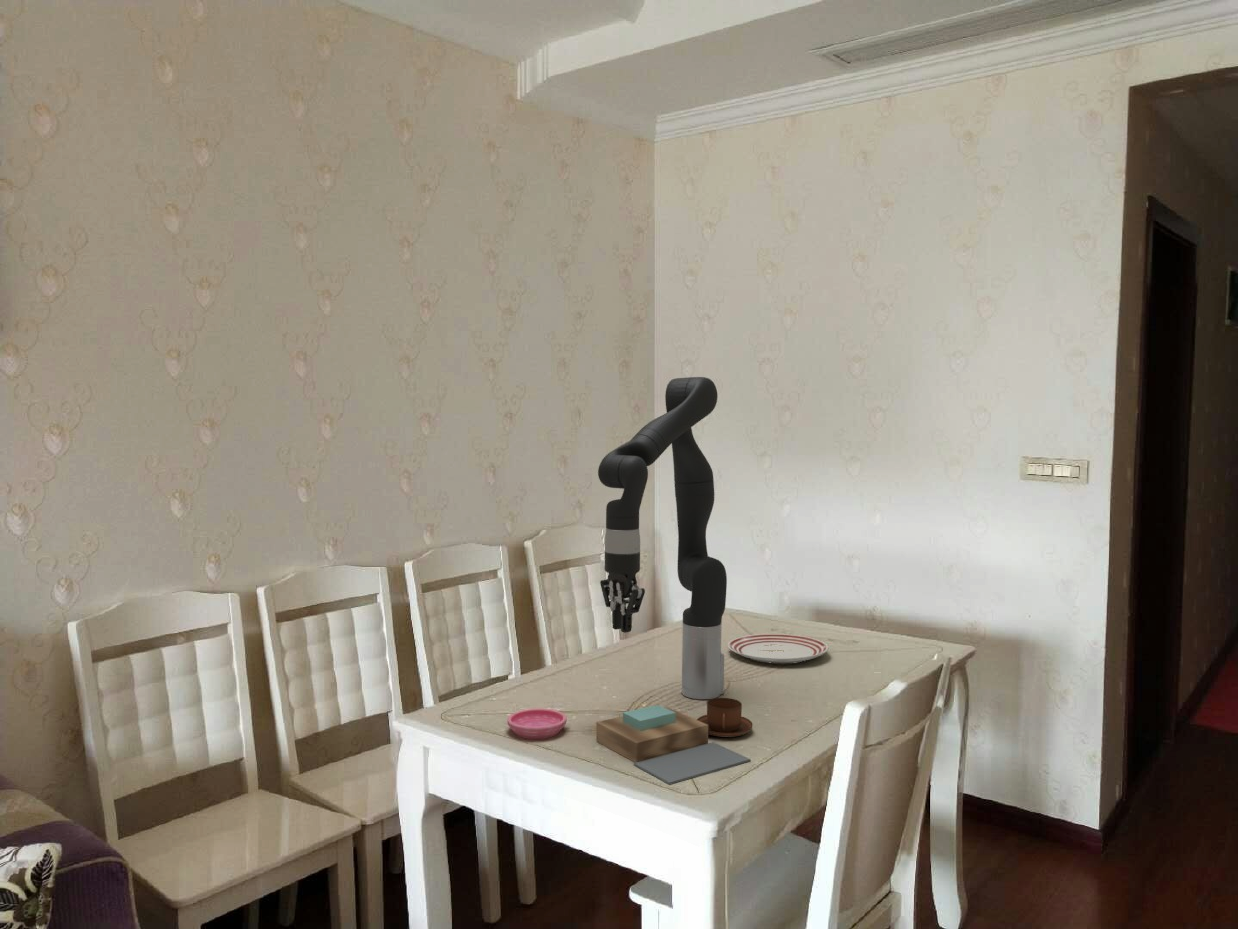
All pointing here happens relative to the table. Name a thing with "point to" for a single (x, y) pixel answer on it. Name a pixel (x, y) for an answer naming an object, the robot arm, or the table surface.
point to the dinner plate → (778, 647)
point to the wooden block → (651, 737)
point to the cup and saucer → (725, 718)
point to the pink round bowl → (537, 723)
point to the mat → (691, 762)
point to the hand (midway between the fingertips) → (621, 630)
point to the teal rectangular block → (649, 717)
